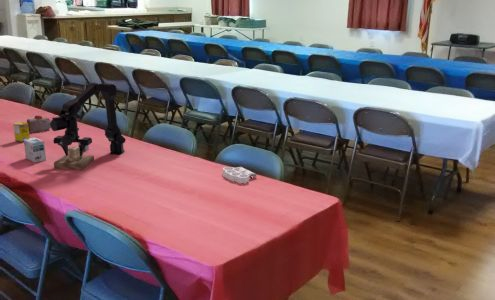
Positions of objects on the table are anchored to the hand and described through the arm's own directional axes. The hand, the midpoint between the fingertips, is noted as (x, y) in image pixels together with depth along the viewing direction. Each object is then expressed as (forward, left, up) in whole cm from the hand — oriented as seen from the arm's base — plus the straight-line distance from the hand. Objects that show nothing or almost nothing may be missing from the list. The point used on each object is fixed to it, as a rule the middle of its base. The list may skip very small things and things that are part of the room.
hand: (74, 156), depth 276 cm
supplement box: (+49, -34, -5) cm, 60 cm away
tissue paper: (-87, +2, -5) cm, 87 cm away
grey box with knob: (+52, -58, -5) cm, 78 cm away
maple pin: (0, 0, -4) cm, 4 cm away
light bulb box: (+24, -4, -5) cm, 25 cm away
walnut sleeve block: (0, 0, -4) cm, 4 cm away
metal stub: (+6, -24, -5) cm, 25 cm away
